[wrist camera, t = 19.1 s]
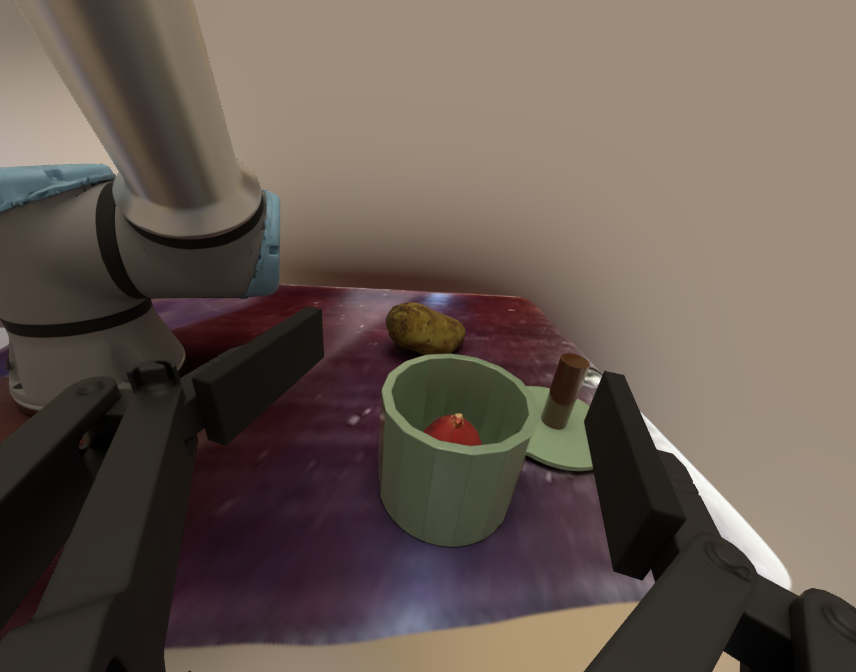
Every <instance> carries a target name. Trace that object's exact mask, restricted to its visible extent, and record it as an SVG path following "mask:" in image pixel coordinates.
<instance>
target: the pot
mask: <svg viewBox="0 0 856 672" xmlns="http://www.w3.org/2000/svg"><path fill="white" fill-rule="evenodd" d="M458 413H460V414H462V417H463V418H464V419H466V420H467V421H469V422H470V423H471V424H472V425H473V426H474V427H475V429H476V430H477V432H478V434H479V437H480V439H481V442H482V445H477V446H467V445H462V444H456V443H451V442H445V441H440V440H437V439H435V438H433V437H431V436H430V435H428V434H426V433H424V432H423V431H424V429H425V428H426V427H428V426H429V425H430V424H431V423H432V422H433V421H434V420H435V419H437V418H440V417H443V416H445V415H454V414H458ZM538 421H539V414H538V409H537V405H536V400H535V397H534V396H533V395H532V393H531V392H530V391H529V390H528V388H527V387H526V386H525V385H524V383H523V382H522V381H521V380H519V379H518V378H516V377H515V376H513V375H512V374H510V373H509V372H507V371H506V370H504V369H503V368H501V367H499V366H497V365H494V364H492V363H489V362H486V361H484V360H481V359H478V358H475V357H468V356H462V355H456V354H434V355H424V356H421V357H418V358H414V359H411V360H408V361H405V362H404V363H403V364H401V365H400V366H399V367H397V368H396V369H394V370H393V371H392V372H390V374H389V375H388V377H387V379H386V382H385V384H384V386H383V388H382V391H381V412H380V435H379V457H378V481H379V492H380V497H381V500H382V502H383V505H384V507H385V509H386V510H387V512H388V514H389V515H390V516H391V518H392V519H393V520H394V521H395V522H396V523H397V524H398V525H399V526H400V527H401V528H402V529H403V530H405V531H406V532H407V533H408V534H410V535H412V536H414V537H415V538H417V539H419V540H422V541H424V542H427V543H430V544H434V545H439V546H446V547H458V546H466V545H470V544H473V543H476V542H479V541H481V540H483V539H485V538H486V537H488V536H489V535H491V534H492V533H493V532H494V531H495V530H497V529H498V527H499V526H500V525H501V524H502V522H503V521H504V519H505V517H506V515H507V512H508V509H509V507H510V505H511V502H512V499H513V496H514V493H515V490H516V487H517V484H518V481H519V478H520V475H521V472H522V469H523V466H524V463H525V460H526V457H527V454H528V451H529V448H530V445H531V442H532V439H533V436H534V433H535V430H536V427H537V424H538Z"/></svg>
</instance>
